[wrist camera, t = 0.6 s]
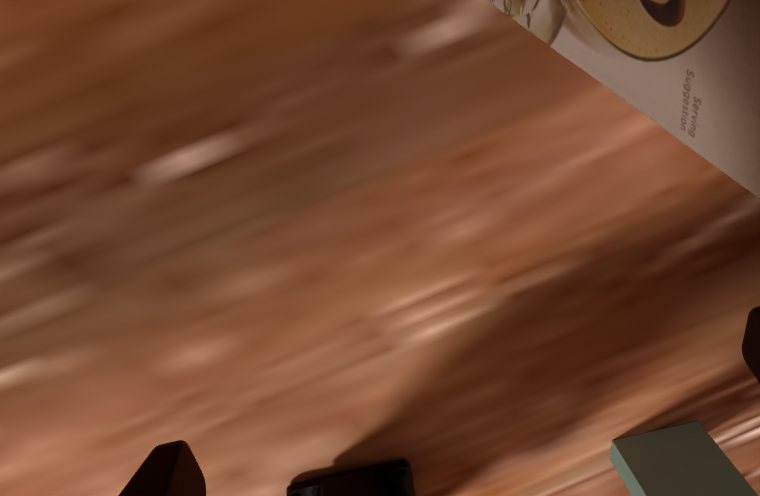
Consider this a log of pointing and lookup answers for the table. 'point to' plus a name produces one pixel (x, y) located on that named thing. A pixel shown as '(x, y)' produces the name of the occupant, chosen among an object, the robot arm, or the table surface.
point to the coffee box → (668, 66)
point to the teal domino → (677, 464)
